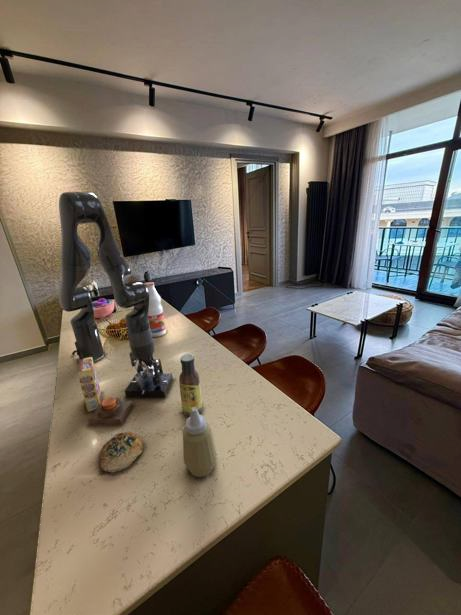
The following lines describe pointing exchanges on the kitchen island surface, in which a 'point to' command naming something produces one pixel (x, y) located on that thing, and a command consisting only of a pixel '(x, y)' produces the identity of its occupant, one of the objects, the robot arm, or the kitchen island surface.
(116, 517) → the kitchen island surface
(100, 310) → the soup bowl
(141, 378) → the silver flat block
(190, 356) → the sauce bottle
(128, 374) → the kitchen island surface
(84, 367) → the candy box
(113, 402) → the button
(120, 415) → the button block
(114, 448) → the bread roll
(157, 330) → the fruit juice
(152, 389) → the tap base
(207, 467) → the squeeze bottle
